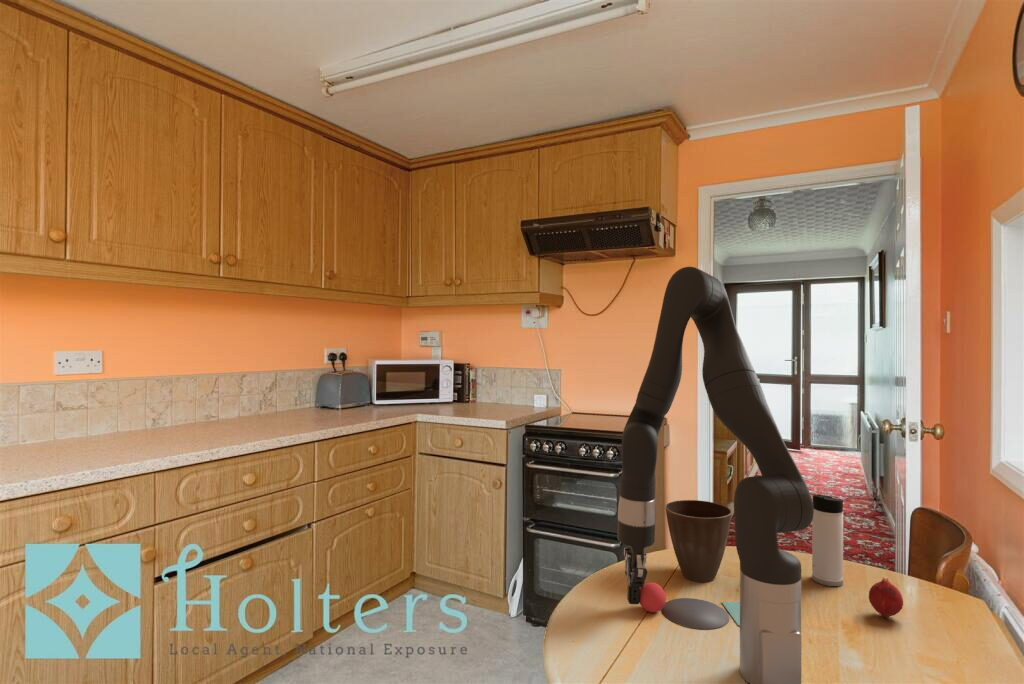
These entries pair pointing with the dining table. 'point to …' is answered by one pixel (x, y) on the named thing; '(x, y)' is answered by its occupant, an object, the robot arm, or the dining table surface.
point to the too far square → (733, 610)
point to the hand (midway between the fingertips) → (633, 602)
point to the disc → (695, 613)
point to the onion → (885, 598)
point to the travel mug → (827, 540)
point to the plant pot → (698, 536)
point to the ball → (652, 597)
